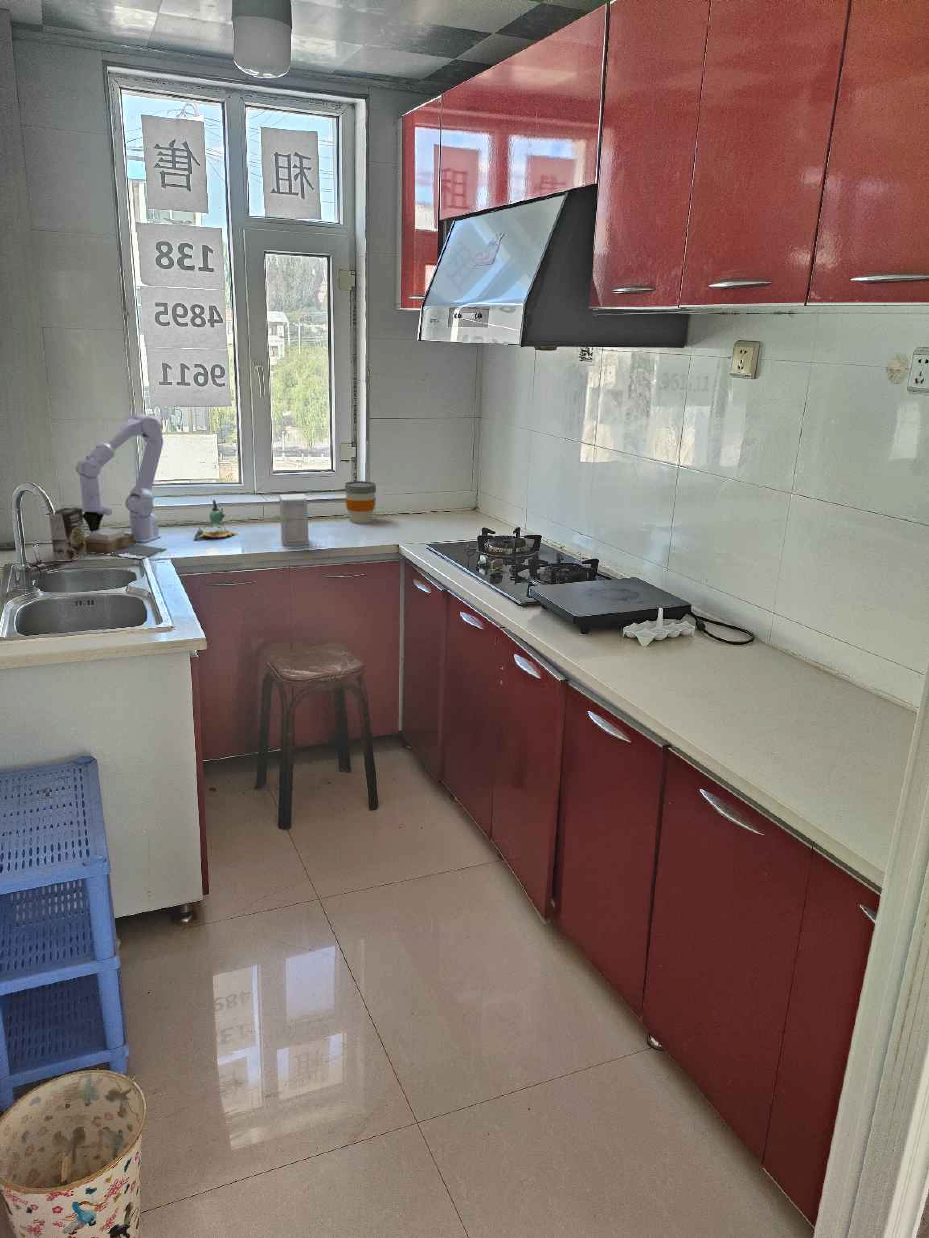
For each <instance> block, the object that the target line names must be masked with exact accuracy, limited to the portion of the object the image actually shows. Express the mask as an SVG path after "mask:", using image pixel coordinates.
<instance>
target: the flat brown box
mask: <svg viewBox="0 0 929 1238" xmlns="http://www.w3.org/2000/svg"><path fill="white" fill-rule="evenodd" d="M124 535H125V536H123V537H120V538H117V539H114V540H111V541H104V540H97V539H91V538H89V535H87V536H85V543H86V552H87V553H89V552H95V553H94V554H96V553H104V554H109V553H112V552H116V551H118V550H121V549H124V548H127V547H130V546H133V545H136V544H135V542H136V541H134V534H131V533H125V532H124Z"/></svg>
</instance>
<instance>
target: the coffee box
mask: <svg viewBox="0 0 929 1238" xmlns="http://www.w3.org/2000/svg"><path fill="white" fill-rule="evenodd" d="M55 511H56V512H55V514H54V515H49V514H48V517H49V525H50V533H51V541H52V552H53V560H54V561H55V560H70V561H71V560H74V559H76V558H79V557H81V556H84V557H86V555H88V554H87V553H88V552H86V543H85V537H86V536H85V526H84V518H83V516H82V514H83V512H82V509H78V508H73V507H62V508H61V509H58V510H55Z"/></svg>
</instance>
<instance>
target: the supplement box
mask: <svg viewBox="0 0 929 1238" xmlns="http://www.w3.org/2000/svg"><path fill="white" fill-rule="evenodd" d="M279 515H280V517H279V518H280V519H279V520H280V539H281V543H282V546H283V547H285V546H303V545H305V546H306V545H307V546H309V542H310V541H309V520H308V519H309V517H308V515H309V514H308V499H307V497H306V494H305V493H300V494H299V493H298V494H296V493H294V494H291V493H290V494H279Z"/></svg>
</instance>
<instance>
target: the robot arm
mask: <svg viewBox="0 0 929 1238" xmlns="http://www.w3.org/2000/svg"><path fill="white" fill-rule="evenodd" d="M135 436H141V437H142V439H143V441H144V443H145V448H144V452H143V455H142V459H141V464H140V467H139V470H138V476H137V480H136V483H135V486H134V487H133V488H132V489H131V490H130V493H129V495H128V496H127V497H126V499H125V502H124V503H125V507H126V509H127V510H128V511H129V514H128V515H129V522H130V524H129V525H130V534H134V542H137V543H148V542H150V541H153V540H156V539H159V538H161V537H162V535H161V534H160V533H159V522H158V518H157V515H155V514H154V513H152V512H153V510H154V502H153V501H154V494H153V492H152V488H153V484H154V480H155V478H156V473H157V469H158V466H159V463H160V462H159V461H160V458H161V454H162V451H163V446H164V438H163V434H162V424H161V423H160V421H159V420H158V418H156V417H154V416H152V415H147V414H146V415H145V414H143V413H135V414H133V416H132V417H131V418H129V419H128V420H127V421H126V423H125V424H124V425H123V426H121V428H120V429H119V430H118V431H117V432H116V433H115V434H114V435H113V436H112V438H110V440H109V441H108V442H106V443H105V442H102V443H100V444H99V443H97V444H96V445H95V448H94V449H93V450H92V451H91V452H89V454H88V453H87V454H86V455H85V458H81V459H80V460H78V462H77V464H76V466H75V471H76V473H77V474H78V475H79V484H80V492H81V499H82V500H81V501H82V502H81V503H82V504H74V505H72V508H78V509H82V516H83V520H84V521H85V523H86V524H87V526H88V528H89V532H92V531H96V530H99V529H100V526H101V522H102V520H103V517H104V515H105V516H112V514H113V509H112V508H109V507H108V508H107V507H105V506H102V502H101V495H100V494H101V493H100V485H99V477H98V476H99V475H100V473H101V470H102V468H103V467H104V466H105V465H106V464H107V463H109V461H110V460H111V459H113V458H114V457H115V455H116V453H115V452H116V450H118V448H119V447H121V446H122V445H123V444H125V442H127V441H128V440H129V439H131V438H132V437H135Z"/></svg>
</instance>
